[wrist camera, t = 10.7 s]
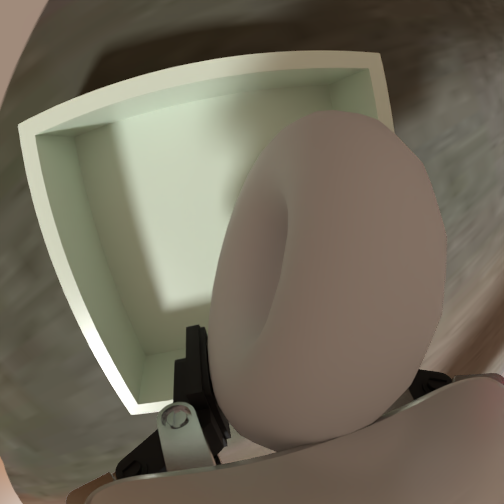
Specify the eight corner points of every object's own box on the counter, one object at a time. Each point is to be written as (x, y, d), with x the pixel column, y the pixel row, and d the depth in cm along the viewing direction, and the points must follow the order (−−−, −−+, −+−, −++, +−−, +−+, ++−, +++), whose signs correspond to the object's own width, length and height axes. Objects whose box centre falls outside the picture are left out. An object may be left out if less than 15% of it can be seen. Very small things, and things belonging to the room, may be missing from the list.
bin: (333, 73, 15) (379, 53, 10) (357, 307, 20) (393, 347, 16) (63, 128, 13) (18, 124, 8) (140, 361, 19) (131, 414, 14)
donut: (260, 331, 15) (328, 508, 6) (194, 319, 14) (209, 519, 5) (329, 139, 13) (536, 155, 3) (257, 111, 12) (421, 33, 2)
